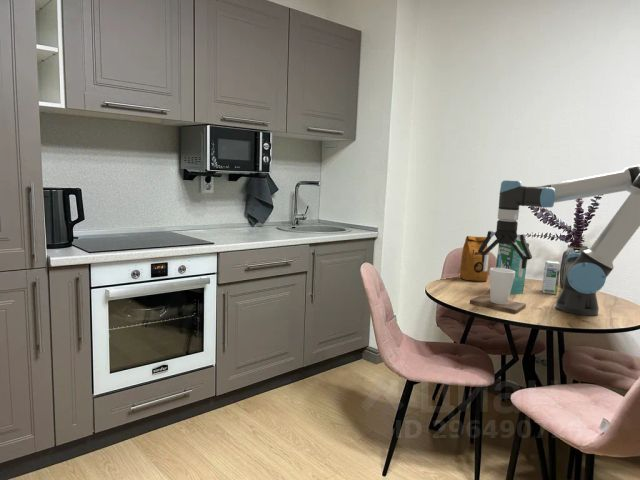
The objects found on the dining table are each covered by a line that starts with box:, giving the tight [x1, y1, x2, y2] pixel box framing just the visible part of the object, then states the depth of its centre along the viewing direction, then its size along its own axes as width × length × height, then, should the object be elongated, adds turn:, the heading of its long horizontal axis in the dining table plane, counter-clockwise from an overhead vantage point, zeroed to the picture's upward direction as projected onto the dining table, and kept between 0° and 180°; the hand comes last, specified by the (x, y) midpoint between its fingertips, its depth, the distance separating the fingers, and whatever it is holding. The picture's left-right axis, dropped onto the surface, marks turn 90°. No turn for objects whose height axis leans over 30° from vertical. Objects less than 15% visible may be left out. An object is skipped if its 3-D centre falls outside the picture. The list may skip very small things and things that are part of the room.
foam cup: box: [488, 267, 515, 304], centre depth 193 cm, size 10×9×13 cm
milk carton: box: [495, 237, 530, 295], centre depth 219 cm, size 9×9×25 cm
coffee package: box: [459, 235, 490, 282], centre depth 239 cm, size 10×12×22 cm
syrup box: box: [541, 260, 561, 295], centre depth 223 cm, size 6×6×14 cm
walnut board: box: [469, 294, 527, 315], centre depth 194 cm, size 18×13×2 cm
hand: (502, 273), depth 192 cm, fingers open, 13 cm apart
